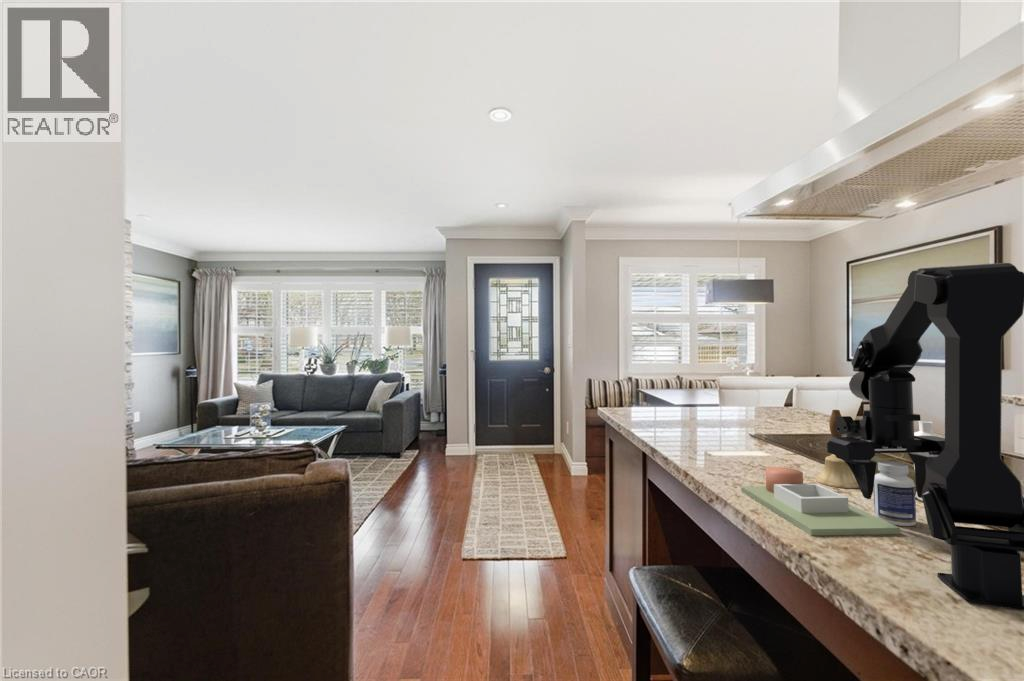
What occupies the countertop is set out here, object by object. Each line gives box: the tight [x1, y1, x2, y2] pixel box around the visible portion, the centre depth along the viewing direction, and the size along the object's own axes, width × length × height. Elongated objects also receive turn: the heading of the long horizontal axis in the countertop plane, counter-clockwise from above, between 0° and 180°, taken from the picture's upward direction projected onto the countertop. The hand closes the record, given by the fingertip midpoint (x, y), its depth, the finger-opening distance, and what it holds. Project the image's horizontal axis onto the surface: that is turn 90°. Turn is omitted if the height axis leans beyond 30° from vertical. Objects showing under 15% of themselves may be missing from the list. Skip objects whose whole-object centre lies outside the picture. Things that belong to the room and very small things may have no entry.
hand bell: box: [815, 409, 860, 489], centre depth 97 cm, size 8×8×16 cm
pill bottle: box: [873, 460, 917, 527], centre depth 75 cm, size 5×5×10 cm
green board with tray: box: [740, 466, 901, 536], centre depth 81 cm, size 22×14×5 cm, turn 179°
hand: (894, 498), depth 75 cm, fingers open, 9 cm apart
